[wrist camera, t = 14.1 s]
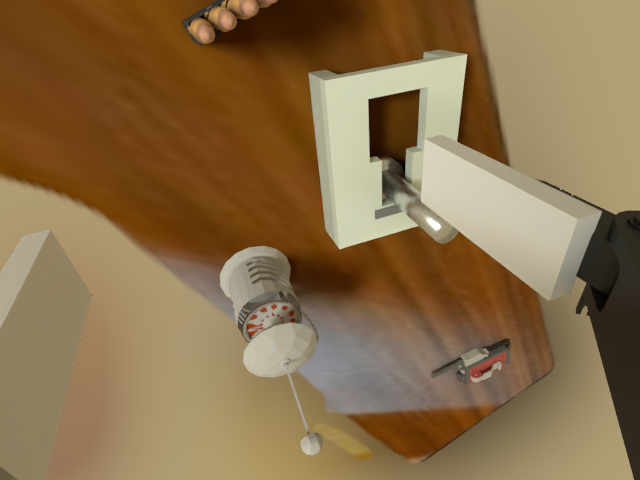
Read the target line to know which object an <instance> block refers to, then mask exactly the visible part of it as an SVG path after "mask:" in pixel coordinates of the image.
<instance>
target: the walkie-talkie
mask: <svg viewBox="0 0 640 480" xmlns="http://www.w3.org/2000/svg"><path fill="white" fill-rule="evenodd" d="M509 345H510V342H509V341H508V340H506V341H504V342H500V341H499V342H497V343H495V344H493V345H491V346H489V347H487V348H484V349H483V348H474V349H472V350H470V351H468V352H466V353H463V354H461V358H460V359H458V360H457V361H456V362H454V363H452V364H450V365H448V366H446V367H444V368H442V370H440V371H438V372H436V373H434V374H432V375H431V377H432V378H435V377H437V376H439V375H441V374H443V373H445V372H447V371H449V370H451V369H453V368H455V367H457V366H458V367H459V373H457V377H458V379H459V381H460V382H464V383H465V385H466V384H469V383H471V382H474V383H479V382H481V381H482V380H483V379H486V378H488V377H490V376H491V375H492V372H493V371H495V370H497V369H499V370H501V367H503V366H504V365H506V364H508V363H509V358H510V350H509V349H508V348H507V347H508V346H509Z"/></svg>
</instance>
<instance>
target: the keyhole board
mask: <svg viewBox="0 0 640 480" xmlns="http://www.w3.org/2000/svg"><path fill="white" fill-rule="evenodd" d="M466 61H467V54H462V53H456V52H450V51H445V50H434V51H428V52H424V59H421V60H416V61H411V62H405V63H400V64H394V65H389V66H383V67H378V68H372V69H367V70H361V71H356V72H350V73H345V74H339V75H338V74H335V73H333V72H330V71H328V70H322V71H316V72H310V73H309V82H310V91H311V100H312V110H313V119H314V128H315V137H316V146H317V155H318V164H319V173H320V183H321V192H322V201H323V210H324V219H325V228H326V231H327V232H328V234H329V235H330V237H331V238H332V239H333V241H334V242H335V244H336V245H337V246H338V248H339V249H342V248H345V247H348V246H352V245H355V244H359V243H362V242H365V241H369V240H372V239H375V238H379V237H382V236H385V235H389V234H392V233H396V232H399V231H402V230H406V229H409V228H412V227H416V226H419V225H417V224H416V223H415V222H414V221H413V220H412V219H410V218H409V217H408V216H407V215H406V214H405V213H404V212H402V211H401V210H400V209H399V208H398V207H397V206H396V205H394V204H393V203H392V202H391V201H390V200H389V199H388V198H386V199H383V200H382V160H380V159H379V158H378V157H376V156H374V157H370V150H369V109H368V99H371V98H376V97H381V96H386V95H391V94H396V93H401V92H406V91H411V90H416V89H420V102H419V121H418V140H417V146H416V147H412V148H407V149H406V167H405V180H406V181H407V182H408V183H410V184H411V185H412V186H414V187H415V188H416V189H418V190H419V191H421V189H422V173H423V157H424V140H425V139H426V138H430V137H434V136H438V135H444V136H446V137H448V138H450V139H452V140H454V141H456V142H457V138H458V129H459V121H460V112H461V104H462V95H463V86H464V78H465V69H466Z"/></svg>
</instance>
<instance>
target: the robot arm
mask: <svg viewBox="0 0 640 480" xmlns="http://www.w3.org/2000/svg"><path fill="white" fill-rule="evenodd" d="M421 202H422V203H424V204H425V205H426V206H427V207H429V208H430V209H431V210H433V211H434V212H435V213H436V214H438V215H439V216H440V217H441V218H443V219H444V220H445V221H447V222H448V223H449V224H450V225H452V226H453V227H454V228H456V229H457V230H458V231H459V232H461V233H462V234H463V235H465V236H466V237H467V238H468V239H470V240H471V241H472V242H474V243H475V244H476V245H477V246H479V247H480V248H481V249H483V250H484V251H485V252H486V253H488V254H489V255H490V256H492V257H493V258H494V259H495V260H497V261H498V262H499V263H501V264H502V265H503V266H504V267H506V268H507V269H508V270H510V271H511V272H512V273H513V274H515V275H516V276H517V277H518V278H520V279H521V280H522V281H524V282H525V283H526V284H527V285H529V286H530V287H531V288H533V289H534V290H535V291H536V292H538V293H539V294H540V295H542V296H543V297H545V299H547V300H548V301H551V300H554V299H556V298H559V297H561V296H564V295H567V294H569V293H570V292H571V290H572V287H573V285H574V282H575V280H576V277H579V278H580V279H582V280H583V281H585V282H586V283H587V284H586V286H585V288H584V291H583V293H582V295H581V298H580V300H579V303H578V305H577V307H576V314H581V311H582V309H583V307H585V306H587V308H588V312H587V315H588V316H590V319H591V323H592V327H593V330H594V334H595V338H596V340H597V345H598V348H599V352H600V356H601V359H602V363H603V367H604V370H605V374H606V378H607V382H608V385H609V389H610V392H611V396H612V400H613V403H614V407H615V411H616V415H617V418H618V422H619V426H620V429H621V433H622V437H623V440H624V444H625V447H626V451H627V455H628V459H629V462H630V466H631V469H632V473H633V477H634V480H640V211H624V212H620V213H618V214H617V215H615V214H613V213H611V212H609V211H606V210H604V209H602V208H600V207H598V206H596V205H594V204H591V203H589V202H587V201H585V200H583V199H581V198H579V197H577V196H575V195H574V196H572V195H571V194H570V193H568V192H566V191H564V190H560V189H559V188H558V187H556V186H553V185H551V184H549V183H547V182H545V181H540V180H537V179H534V178H531V177H529V176H527V175H525V174H523V173H521V172H519V171H517V170H515V169H513V168H511V167H508V166H506V165H504V164H502V163H500V162H498V161H496V160H494V159H492V158H490V157H488V156H485V155H483V154H481V153H479V152H477V151H475V150H473V149H471V148H469V147H467V146H465V145H462V144H460V143H458V142H456V141H454V140H452V139H450V138H448V137H446V136H444V135H438V136H434V137H430V138H426V139H425V140H424V157H423V173H422V189H421ZM91 296H92V294H91V293H90V291H89V290H88V288H87V286H86V285H85V283H84V282H83V280H82V278H81V277H80V275H79V274H78V272H77V271H76V269H75V267H74V266H73V264H72V263H71V261H70V259H69V258H68V256H67V255H66V253H65V251H64V250H63V248H62V247H61V245H60V244H59V242H58V240H57V239H56V237H55V236H54V234H53V232H52V231H51V230H46V231H41V232H38V233H34V234H29V235H25V236H23V237H22V238H21V240H20V241H19V243H18V245H17V246H16V248H15V250H14V251H13V253H12V255H11V256H10V258H9V260H8V261H7V263H6V264H5V266H4V268H3V269H2V271H1V273H0V480H45V478H46V475H47V471H48V467H49V463H50V459H51V455H52V451H53V447H54V443H55V439H56V435H57V431H58V427H59V423H60V419H61V415H62V411H63V407H64V403H65V399H66V395H67V391H68V387H69V383H70V379H71V375H72V372H73V368H74V363H75V359H76V356H77V352H78V348H79V344H80V340H81V335H82V332H83V328H84V324H85V320H86V316H87V312H88V308H89V304H90V300H91Z"/></svg>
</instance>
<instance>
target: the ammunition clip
mask: <svg viewBox="0 0 640 480" xmlns="http://www.w3.org/2000/svg"><path fill="white" fill-rule="evenodd" d="M277 1H278V0H216V1H214V2H213V3H211V4H209V5H208V6H206V7H204V8H203V9H201V10H200V11H198V12H196V13H195V14H193V15H192V16H190V17H188V18H187V19H185V20H183V21H182V24H183V25H184V27H185V28H186V30H187V32H188V33H189V35H190V36H191V38H192V40H193V41H194V42H195V43H197V44H199V45H203V44H208V43H211V42H213V40H214V38H215V37H216V36H218V35H219V34H221V33H222V32H226V31H229V30H232V29H234V28H235V26H236V24H237V23H239V22H240V21H242V20H243V19H249V18H250V17H253V16H255V15H256V14H257V13H258V10H260V9H261V8H264V7H268V6H270V5H271V4H274V3H275V2H277ZM236 18H238V20H236ZM216 30H220V31H218V32H217V33H215V31H216Z"/></svg>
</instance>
